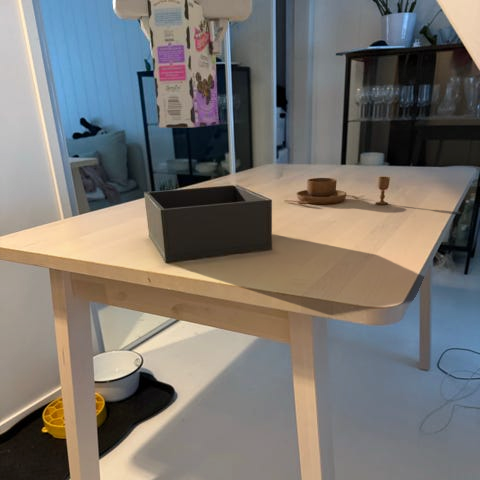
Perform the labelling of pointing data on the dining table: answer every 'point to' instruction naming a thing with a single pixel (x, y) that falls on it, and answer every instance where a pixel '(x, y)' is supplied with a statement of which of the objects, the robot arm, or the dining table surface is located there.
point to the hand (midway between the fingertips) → (187, 55)
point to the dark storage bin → (208, 222)
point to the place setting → (332, 191)
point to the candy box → (183, 64)
